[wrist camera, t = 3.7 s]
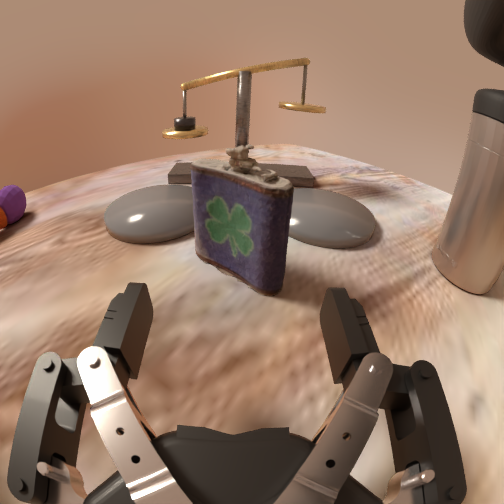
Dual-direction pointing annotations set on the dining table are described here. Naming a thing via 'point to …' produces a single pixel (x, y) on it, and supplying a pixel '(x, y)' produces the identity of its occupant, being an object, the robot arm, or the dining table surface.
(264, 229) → the flask
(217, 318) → the dining table surface
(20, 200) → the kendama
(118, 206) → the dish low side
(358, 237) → the gray domed disc
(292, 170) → the balance
